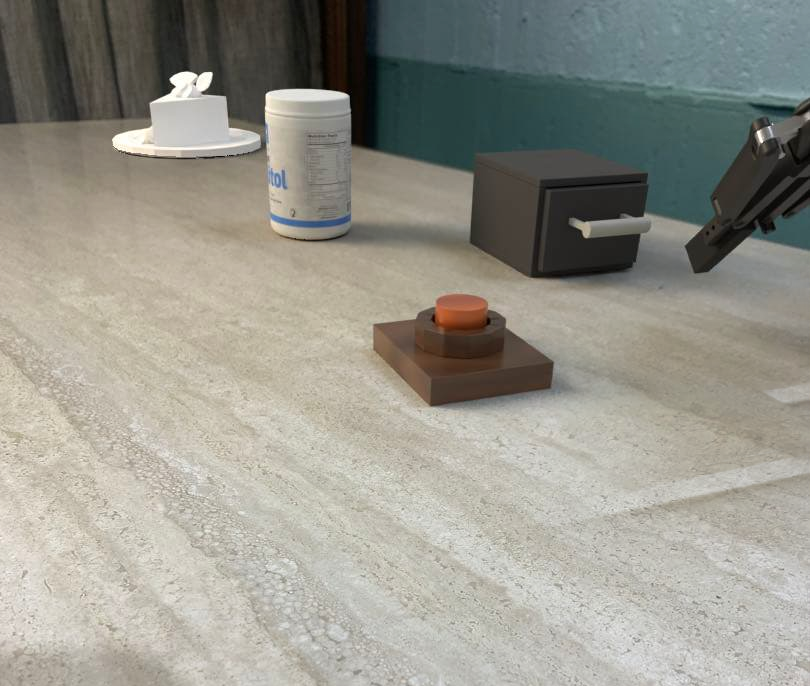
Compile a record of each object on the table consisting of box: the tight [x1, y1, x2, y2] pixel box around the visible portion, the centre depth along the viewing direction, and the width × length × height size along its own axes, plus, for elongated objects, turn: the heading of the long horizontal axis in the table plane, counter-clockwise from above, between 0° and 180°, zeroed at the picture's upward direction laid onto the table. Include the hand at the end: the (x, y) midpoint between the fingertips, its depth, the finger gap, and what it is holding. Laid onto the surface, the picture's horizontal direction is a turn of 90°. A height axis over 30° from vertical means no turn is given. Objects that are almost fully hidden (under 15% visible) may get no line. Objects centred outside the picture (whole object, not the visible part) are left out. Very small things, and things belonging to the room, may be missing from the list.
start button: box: [434, 293, 489, 330], centre depth 66 cm, size 4×4×2 cm
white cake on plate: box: [112, 71, 262, 157], centre depth 147 cm, size 25×25×11 cm
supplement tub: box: [264, 88, 352, 241], centre depth 99 cm, size 10×10×15 cm
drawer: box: [537, 182, 652, 272], centre depth 91 cm, size 18×11×8 cm, turn 22°
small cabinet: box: [469, 147, 649, 279], centre depth 94 cm, size 15×13×10 cm
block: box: [372, 306, 555, 408], centre depth 68 cm, size 12×10×4 cm
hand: (696, 258), depth 75 cm, fingers closed
